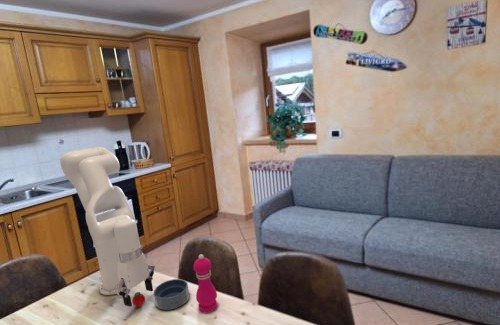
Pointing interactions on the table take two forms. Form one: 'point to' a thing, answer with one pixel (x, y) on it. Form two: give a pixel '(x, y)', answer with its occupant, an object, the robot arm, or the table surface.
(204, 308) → the pepper mill
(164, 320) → the table surface
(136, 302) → the strawberry
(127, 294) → the robot arm
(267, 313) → the table surface
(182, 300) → the bowl
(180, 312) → the table surface
